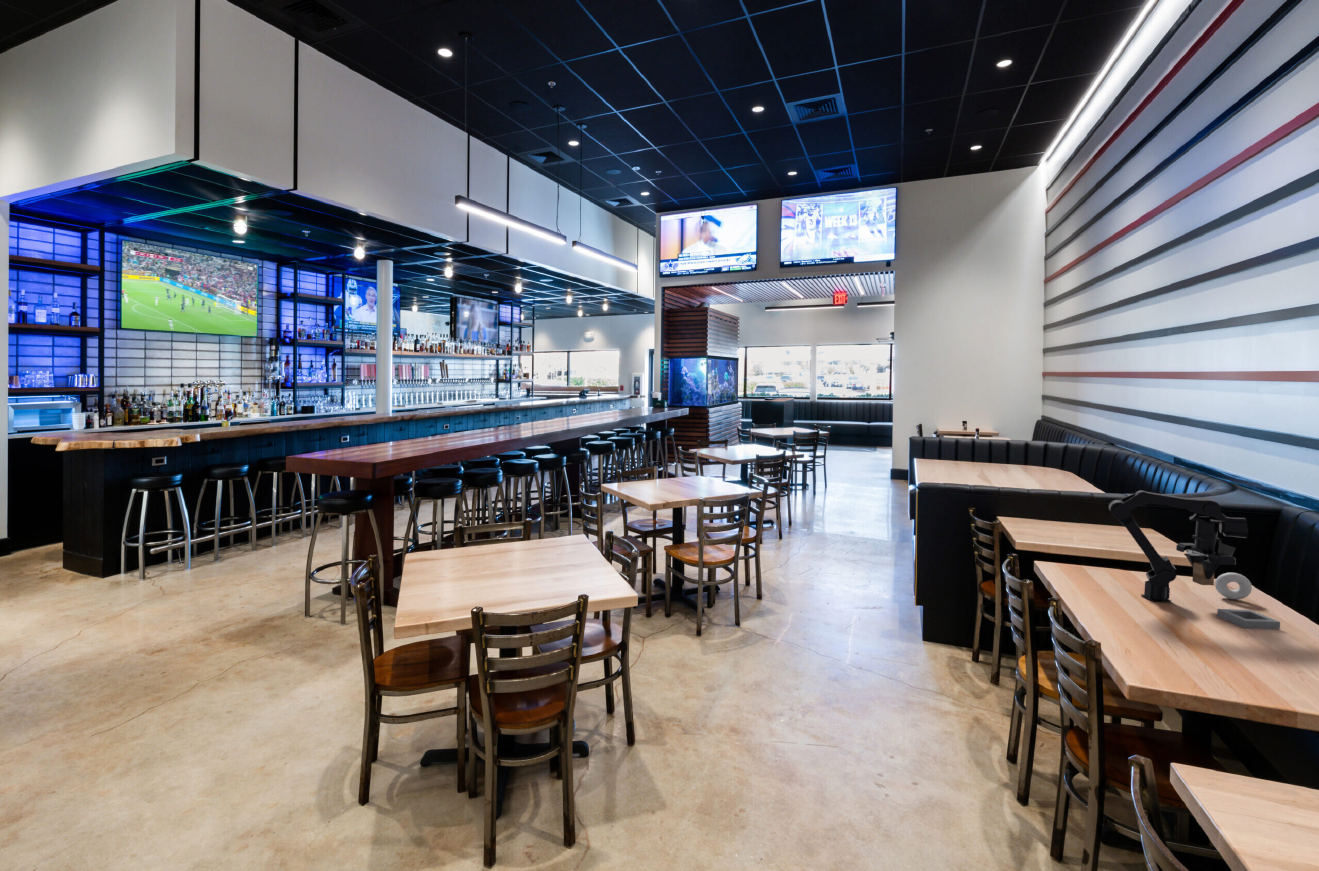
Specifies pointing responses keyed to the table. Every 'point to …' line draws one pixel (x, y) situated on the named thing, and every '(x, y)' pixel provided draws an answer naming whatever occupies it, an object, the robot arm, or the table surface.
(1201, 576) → the walnut post
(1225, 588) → the donut
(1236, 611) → the square well
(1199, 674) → the table surface
